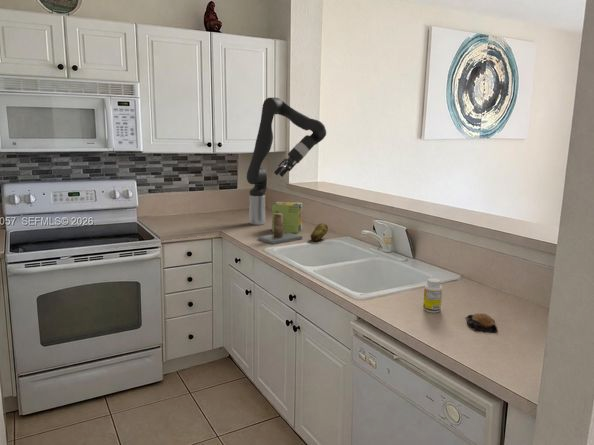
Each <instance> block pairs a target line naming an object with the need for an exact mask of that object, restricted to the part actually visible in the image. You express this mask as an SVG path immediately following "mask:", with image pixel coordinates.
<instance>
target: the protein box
mask: <svg viewBox="0 0 594 445" xmlns="http://www.w3.org/2000/svg"><path fill="white" fill-rule="evenodd" d="M271 208H272V209H271V216H272V217H271V218H272V219H271V231H272V233H274V214H275V213H282V214H283V232H289V233H292V234H299V233H300V232H301V231H302V230H303V202H288V201H287V202H286V201H285V202H284V201H276V202H275V203H273V204H272V206H271Z"/></svg>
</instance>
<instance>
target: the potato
mask: <svg viewBox="0 0 594 445" xmlns="http://www.w3.org/2000/svg"><path fill="white" fill-rule="evenodd" d="M328 231H329V226H328V225H327V224H325V223H319V224H317V225H316V226H315V228H314V229H313V231H312V233H311V234H310V239H311V241H313V242H317V241H319V240H321V239H322V238H324V236H325V235H327V233H328Z"/></svg>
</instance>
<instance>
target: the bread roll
mask: <svg viewBox="0 0 594 445" xmlns="http://www.w3.org/2000/svg"><path fill="white" fill-rule="evenodd" d="M464 318H465V322H466V325H467V326H468V327H469V329H471V331H473V332H480V333H488V334H489V333H490V334H494V333H498V332H499V331H498V327H497V325H496V321H495V319H493V318H492V317H491V316H490V315H488V314H487V313H474V314H469V315H467V316H465V317H464Z"/></svg>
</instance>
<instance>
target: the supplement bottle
mask: <svg viewBox="0 0 594 445" xmlns="http://www.w3.org/2000/svg"><path fill="white" fill-rule="evenodd" d="M426 283H427V284H425V285H424V292H423V309H424V311H425V312H428V313H434V314H435V313H439V312H441V310H442V302H443V301H442V300H443V286H442V285H441V280H440V279H438V278H436V277H435V278H434V277H431V278H427V282H426Z"/></svg>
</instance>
